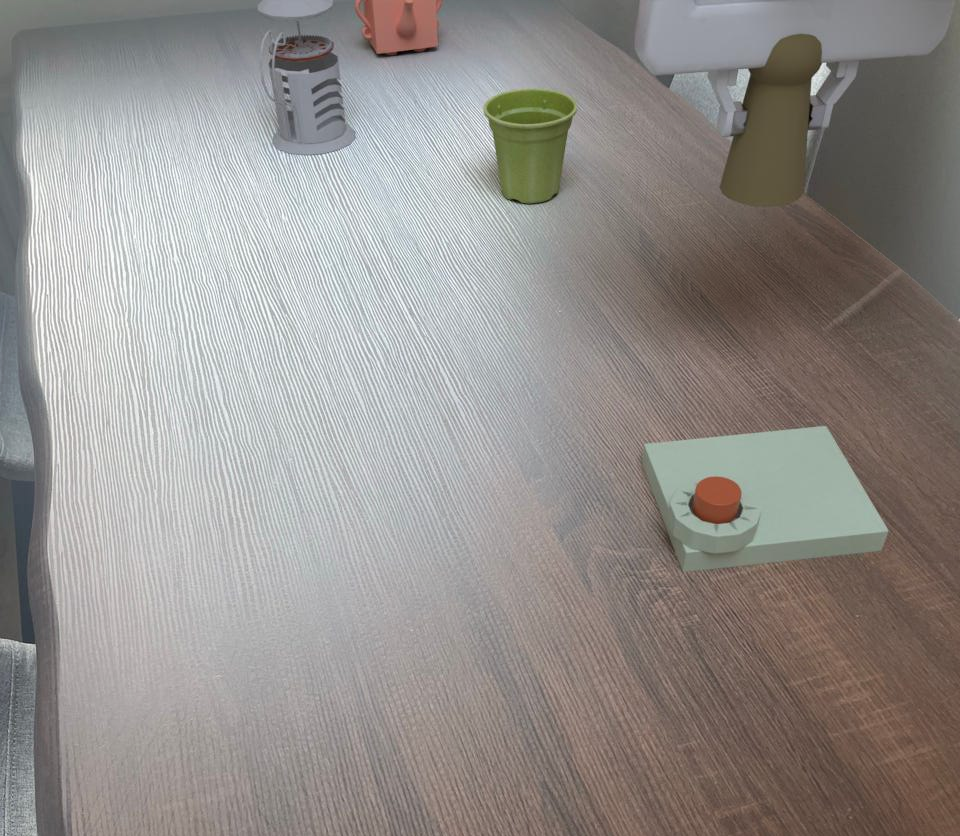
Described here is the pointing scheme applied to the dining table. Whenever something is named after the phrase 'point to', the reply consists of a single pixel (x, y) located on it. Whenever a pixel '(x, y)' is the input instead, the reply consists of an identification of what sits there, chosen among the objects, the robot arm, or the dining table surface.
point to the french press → (305, 83)
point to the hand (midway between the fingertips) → (772, 130)
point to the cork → (774, 127)
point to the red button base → (764, 499)
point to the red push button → (716, 500)
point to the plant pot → (530, 140)
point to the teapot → (400, 24)
